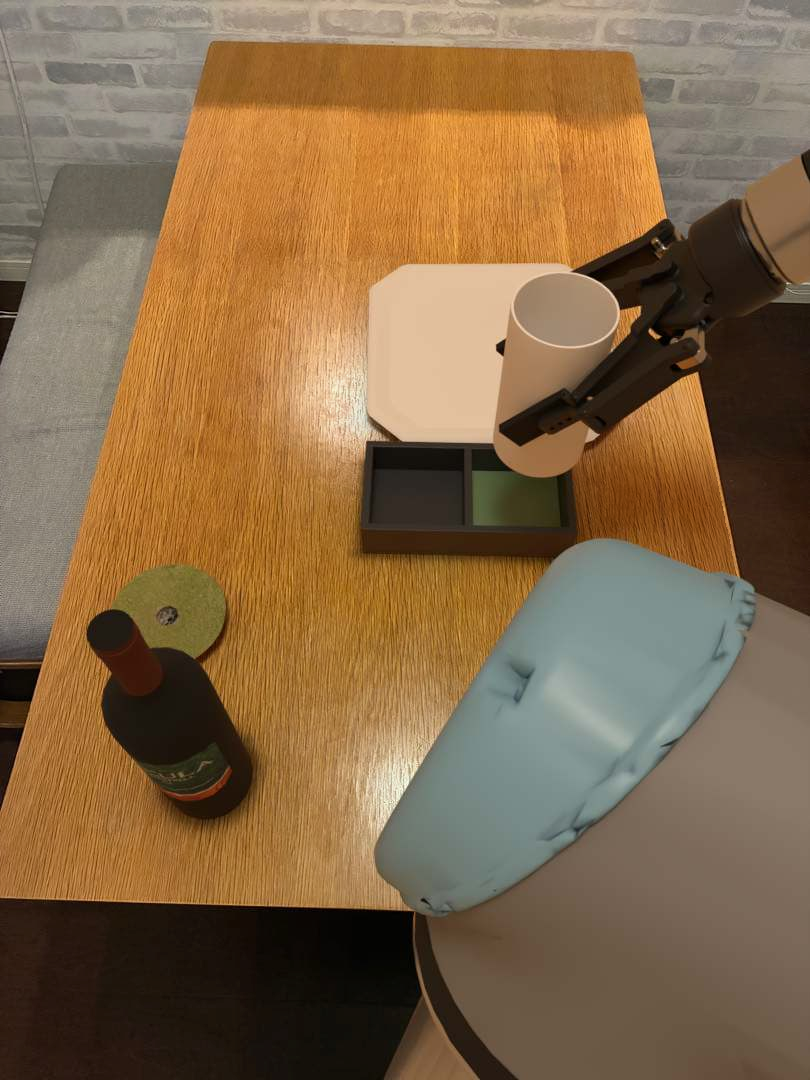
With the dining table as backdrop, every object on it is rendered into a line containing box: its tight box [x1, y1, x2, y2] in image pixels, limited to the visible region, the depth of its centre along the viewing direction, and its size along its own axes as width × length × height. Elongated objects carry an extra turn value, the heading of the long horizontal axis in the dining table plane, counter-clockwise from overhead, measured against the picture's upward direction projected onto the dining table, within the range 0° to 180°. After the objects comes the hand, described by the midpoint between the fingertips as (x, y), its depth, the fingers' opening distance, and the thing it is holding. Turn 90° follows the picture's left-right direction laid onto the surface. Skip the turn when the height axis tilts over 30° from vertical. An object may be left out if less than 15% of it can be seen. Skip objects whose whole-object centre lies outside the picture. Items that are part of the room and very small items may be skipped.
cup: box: [493, 272, 621, 477], centre depth 71 cm, size 8×8×16 cm
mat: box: [109, 563, 227, 659], centre depth 83 cm, size 11×11×2 cm
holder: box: [360, 440, 579, 558], centre depth 89 cm, size 11×21×5 cm, turn 88°
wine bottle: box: [85, 608, 254, 821], centre depth 63 cm, size 8×8×30 cm
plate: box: [365, 262, 614, 445], centre depth 101 cm, size 29×29×2 cm
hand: (507, 394), depth 72 cm, fingers closed on cup, 8 cm apart
